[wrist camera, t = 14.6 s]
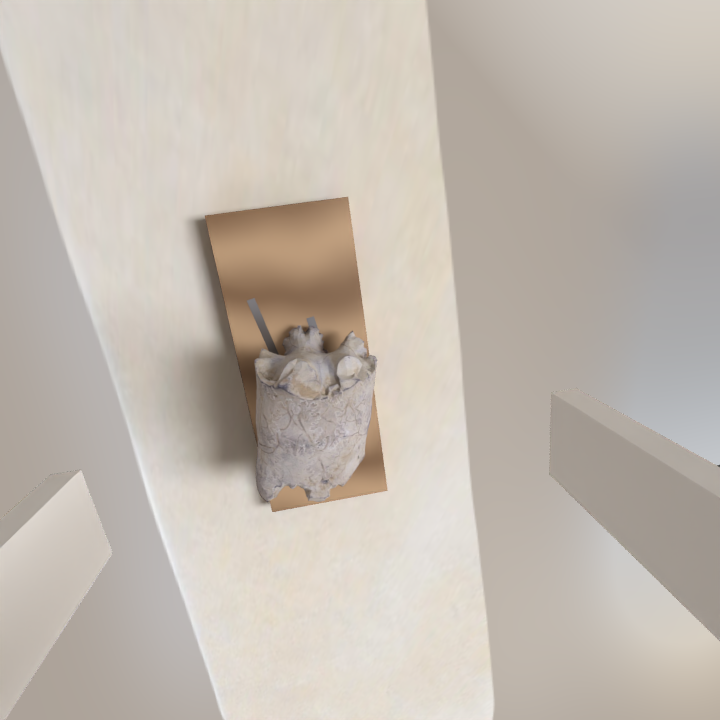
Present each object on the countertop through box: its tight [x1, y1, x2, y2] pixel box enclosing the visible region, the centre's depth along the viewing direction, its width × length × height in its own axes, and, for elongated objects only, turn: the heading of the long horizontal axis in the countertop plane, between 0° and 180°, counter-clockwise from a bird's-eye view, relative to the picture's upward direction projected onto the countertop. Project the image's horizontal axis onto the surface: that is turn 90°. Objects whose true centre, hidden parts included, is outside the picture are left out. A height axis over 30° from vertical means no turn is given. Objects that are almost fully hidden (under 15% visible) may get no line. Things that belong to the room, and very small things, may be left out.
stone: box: [254, 325, 377, 502], centre depth 28 cm, size 8×12×7 cm, turn 176°
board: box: [205, 197, 387, 512], centre depth 32 cm, size 24×10×2 cm, turn 8°
